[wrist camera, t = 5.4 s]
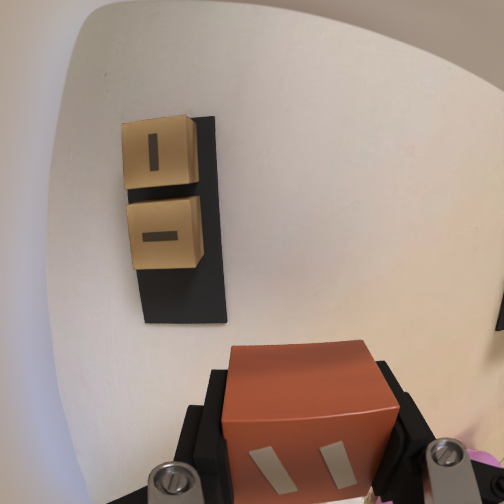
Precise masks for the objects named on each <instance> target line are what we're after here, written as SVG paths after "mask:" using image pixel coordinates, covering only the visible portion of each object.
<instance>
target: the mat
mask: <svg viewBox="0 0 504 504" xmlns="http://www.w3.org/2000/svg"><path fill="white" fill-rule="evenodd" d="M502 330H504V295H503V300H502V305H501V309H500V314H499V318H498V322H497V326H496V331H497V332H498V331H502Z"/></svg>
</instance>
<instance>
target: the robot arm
mask: <svg viewBox="0 0 504 504" xmlns="http://www.w3.org/2000/svg"><path fill="white" fill-rule="evenodd" d="M375 362H376V364H377V366H378V367H379V369H380V371H381V373H382V375H383V376H384V378H385V380H386V382H387V383H388V385H389V387H390V389H391V391H392V393H393V394H394V396H395V398H396V400H397V402H398V404H399V406H400V408H399V412H398V415H397V418H396V421H395V424H394V427H393V430H392V433H391V436H390V439H389V441H388V444H387V447H386V450H385V452H384V455H383V458H382V460H381V463H380V465H379V468H378V470H377V473H376V475H375V478H374V480H373V483H372V489H373V492H374V495H375V496H380V499H381V502H382V503H385V502H389V501H392V502H393V504H504V468H500V467H496V466H492V465H489V464H485V463H482V462H478V461H475V460H472V459H470V458H469V454H468V451H467V449H466V447H465V446H464V445H463V444H462V443H461V442H460V441H458V440H456V439H453V438H439V439H436V438H435V437H434V435H433V433H432V431H431V430H430V428H429V426H428V424H427V423H426V421H425V419H424V418H423V416H422V414H421V412H420V411H419V409H418V407H417V406H416V404H415V402H414V401H413V399H412V397H411V396H410V394H409V393H407V392H404V391H403V390H402V388H401V386H400V385H399V383H398V381H397V380H396V378H395V376H394V375H393V373H392V371H391V370H390V368H389V366H388V365H387V363H386V362H385V361H375ZM227 374H228V370H211V374H210V379H209V384H208V388H207V393H206V398H205V402H204V406H202V405H189V406H188V408H187V412H186V416H185V419H184V423H183V427H182V430H181V434H180V438H179V442H178V445H177V449H176V453H175V457H174V461H171V462H165V463H163V464H160V465H158V466H157V467H155V468H154V469H153V470H152V471H151V473H150V474H149V478H148V485H147V486H145V487H143V488H141V489H139V490H137V491H134V492H132V493H130V494H128V495H126V496H123V497H121V498H119V499H116V500H114V501H112V502H109V503H107V504H234V492H233V485H232V478H231V471H230V463H229V455H228V448H227V440H226V439H224V438H223V431H222V423H221V418H222V411H223V404H224V396H225V389H226V382H227Z"/></svg>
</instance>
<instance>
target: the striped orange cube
mask: <svg viewBox="0 0 504 504" xmlns="http://www.w3.org/2000/svg"><path fill="white" fill-rule="evenodd" d="M399 408H400V406H399V404H398V402H397V400H396V398H395V396H394V394H393V393H392V391H391V389H390V387H389V385H388V383H387V382H386V380H385V378H384V376H383V375H382V373H381V371H380V369H379V367H378V366H377V364H376V362H375V360H374V359H373V357H372V355H371V353H370V352H369V350H368V348H367V346H366V345H365V343H364V341H363V340H353V341H340V342H326V343H309V344H288V345H255V346H232V347H231V353H230V360H229V367H228V374H227V382H226V389H225V396H224V404H223V411H222V418H221V423H222V431H223V438H224V439H226V440H227V448H228V455H229V463H230V471H231V478H232V485H233V492H234V504H316V503H325V502H333V501H340V500H347V499H353V498H358V497H364V496H367V494H368V492H369V490H370V487H371V485H372V483H373V480H374V478H375V475H376V473H377V470H378V468H379V465H380V463H381V460H382V458H383V455H384V452H385V450H386V447H387V444H388V441H389V439H390V436H391V433H392V430H393V427H394V424H395V421H396V418H397V415H398V412H399Z"/></svg>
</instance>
